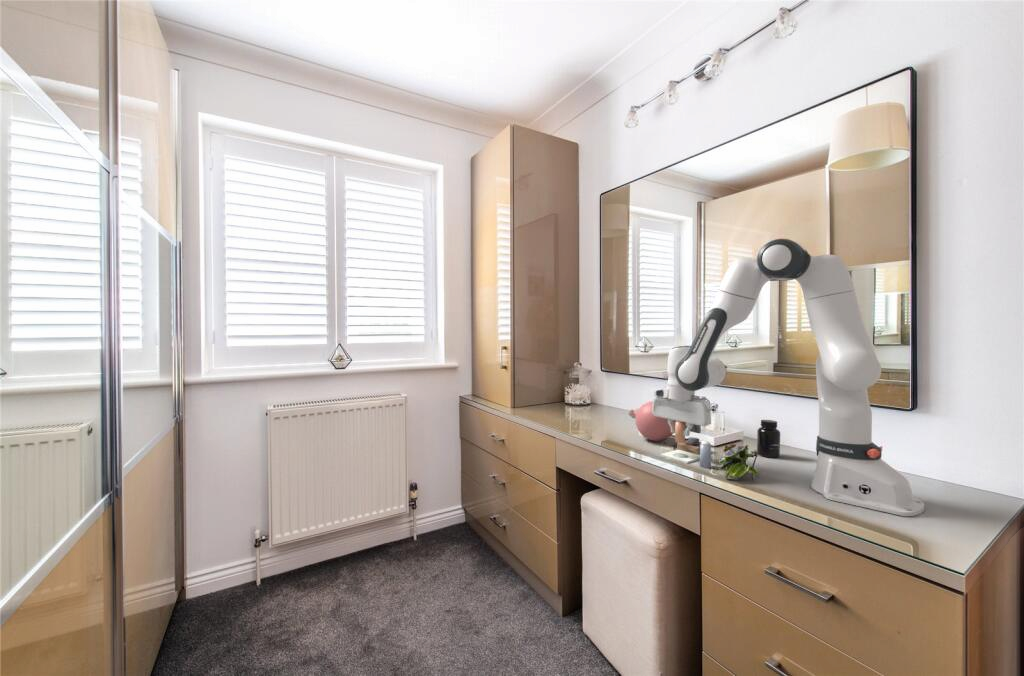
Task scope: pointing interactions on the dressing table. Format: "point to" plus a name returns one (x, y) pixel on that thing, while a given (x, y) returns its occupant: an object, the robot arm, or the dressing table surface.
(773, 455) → the supplement bottle
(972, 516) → the dressing table surface
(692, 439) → the button
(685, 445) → the button block
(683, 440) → the cylinder
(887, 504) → the robot arm
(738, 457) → the passion flower
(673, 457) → the sketch pad
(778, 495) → the dressing table surface
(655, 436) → the pink balloon
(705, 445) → the cylinder
